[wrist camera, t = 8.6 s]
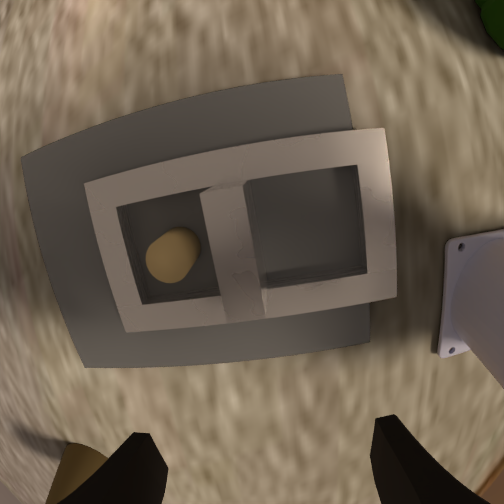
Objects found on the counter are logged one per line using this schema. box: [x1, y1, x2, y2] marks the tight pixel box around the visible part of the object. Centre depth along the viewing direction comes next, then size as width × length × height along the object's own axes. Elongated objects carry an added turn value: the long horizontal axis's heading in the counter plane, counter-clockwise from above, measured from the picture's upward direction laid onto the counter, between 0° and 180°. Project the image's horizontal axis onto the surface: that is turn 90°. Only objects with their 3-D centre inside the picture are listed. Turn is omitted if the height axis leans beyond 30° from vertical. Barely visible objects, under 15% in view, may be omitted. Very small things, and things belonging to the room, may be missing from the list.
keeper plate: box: [21, 74, 370, 368], centre depth 15 cm, size 18×14×3 cm
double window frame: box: [84, 128, 397, 332], centre depth 13 cm, size 14×8×4 cm, turn 100°
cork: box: [45, 443, 108, 504], centre depth 19 cm, size 6×6×11 cm
